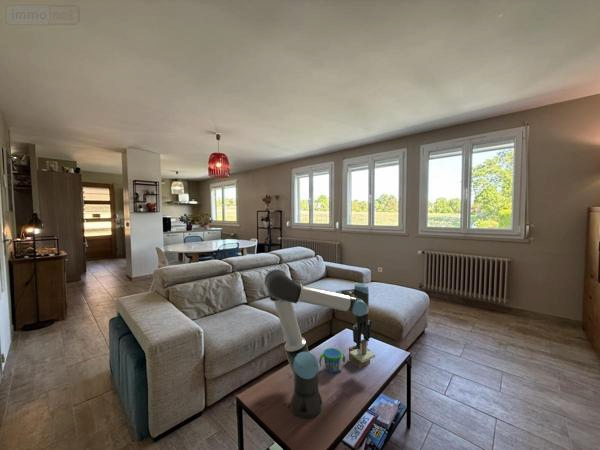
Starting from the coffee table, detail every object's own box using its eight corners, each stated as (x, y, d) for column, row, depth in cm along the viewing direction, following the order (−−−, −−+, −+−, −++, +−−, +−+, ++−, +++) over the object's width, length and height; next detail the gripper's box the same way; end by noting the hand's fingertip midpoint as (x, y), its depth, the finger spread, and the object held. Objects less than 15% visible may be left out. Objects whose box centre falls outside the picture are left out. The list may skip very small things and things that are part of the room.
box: (359, 367, 149) (359, 354, 149) (348, 360, 157) (348, 347, 157) (370, 362, 154) (370, 350, 154) (359, 355, 162) (359, 343, 161)
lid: (362, 362, 135) (362, 347, 135) (349, 353, 144) (349, 340, 143) (375, 356, 141) (375, 342, 140) (362, 348, 149) (362, 335, 149)
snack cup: (342, 363, 154) (342, 346, 154) (347, 373, 144) (347, 356, 143) (317, 365, 152) (317, 349, 152) (321, 376, 142) (321, 359, 141)
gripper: (355, 318, 133) (356, 360, 135) (377, 310, 142) (377, 351, 143) (346, 313, 140) (346, 354, 141) (367, 306, 149) (367, 345, 150)
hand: (362, 352), depth 142 cm, fingers closed on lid, 3 cm apart
